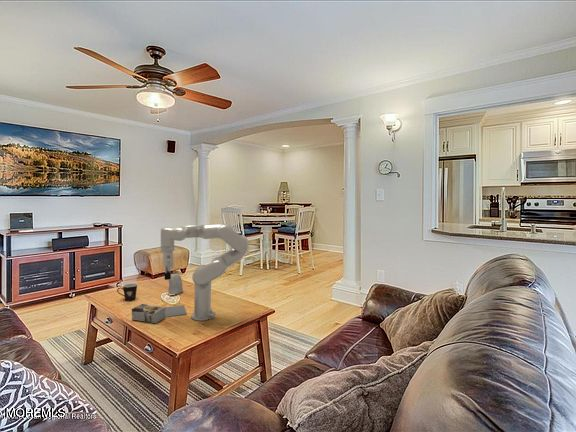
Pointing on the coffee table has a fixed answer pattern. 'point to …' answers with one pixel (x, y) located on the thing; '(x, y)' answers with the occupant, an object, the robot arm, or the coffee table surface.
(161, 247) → the robot arm
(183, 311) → the mat
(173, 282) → the decorative stone
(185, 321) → the coffee table surface
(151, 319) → the coffee box
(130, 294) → the coffee mug
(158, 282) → the coffee table surface
